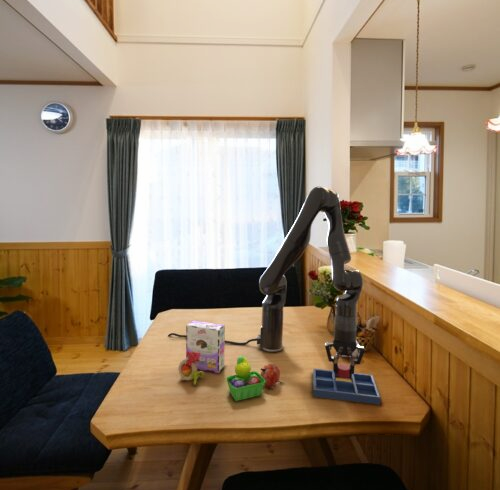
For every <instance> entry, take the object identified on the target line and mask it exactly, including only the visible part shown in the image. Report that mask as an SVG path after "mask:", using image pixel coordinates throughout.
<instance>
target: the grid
mask: <svg viewBox="0 0 500 490" xmlns="http://www.w3.org/2000/svg"><path fill="white" fill-rule="evenodd" d="M312 384H313V385H312V387H313V389H312V391H313V393H312V394H313V395H312V396H313V397H314V398H322V399H330V400H338V401H347V402H355V403H363V404H372V405H381V396H380V393H379V390H378V386H377V384H376V380H375V378H374V376H373V374H367V373H359V372H354V374H352V376H350V377H349V378H341V377H339V376H338V375H337V374H335V372H334V371H333V369H332V370H330V369H321V368H313V369H312Z"/></svg>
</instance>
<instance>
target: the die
mask: <svg viewBox="0 0 500 490" xmlns="http://www.w3.org/2000/svg"><path fill="white" fill-rule="evenodd" d="M356 344H357V345H358V346H361V345H360V343H359V342H358V340H357V339H356ZM357 354H358V351H357V349H356V350H355V351H354V352H353V353H352V356H353V358H356V357H357ZM341 357H342V358H349V356H346V355H341Z"/></svg>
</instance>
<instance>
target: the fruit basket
mask: <svg viewBox="0 0 500 490" xmlns="http://www.w3.org/2000/svg"><path fill="white" fill-rule="evenodd" d="M234 372H235V374H234V375H228V376H227V377H226V378H225V379H226V382H227V385H228V390H229V393H230V394H231V396H232V398H233V399H234V401H235V402H238V401H241V400H246V399H249V398H250V399H251V398H255V397H258V396H261V395H262V392H263V388H264V386H265V385H264V384H265V380H264V379H263V378H262V376H261V375H260V374H261V373H259V372H258V371H256V370H253V371H252V366H251V364H250V363H249V361H248V359H247V358H246V357H244V356H243V355H241V356H238V357H237V359H236V364H235V367H234Z"/></svg>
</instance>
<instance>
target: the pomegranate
mask: <svg viewBox="0 0 500 490" xmlns="http://www.w3.org/2000/svg"><path fill="white" fill-rule="evenodd" d="M259 374H260V375H261V376H262V378H263V379H264V380H265V384H264V386H265V387H266V388H271V389H272V388H274V387H276V383H280V384H282V382H281V381H280V377H281V369H280V367H279V366H278V365H277V364H275V363H268V364H266V365H264V366H263V368H260V373H259Z"/></svg>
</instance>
